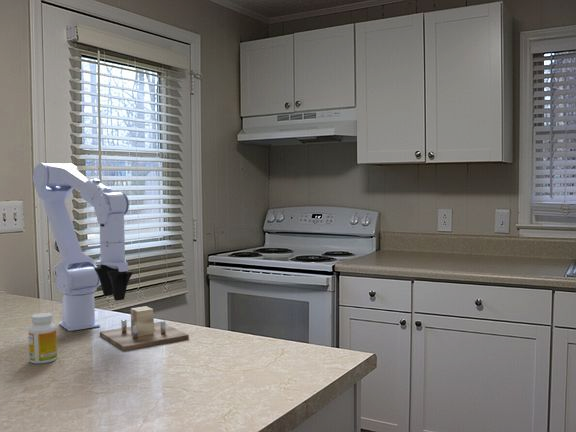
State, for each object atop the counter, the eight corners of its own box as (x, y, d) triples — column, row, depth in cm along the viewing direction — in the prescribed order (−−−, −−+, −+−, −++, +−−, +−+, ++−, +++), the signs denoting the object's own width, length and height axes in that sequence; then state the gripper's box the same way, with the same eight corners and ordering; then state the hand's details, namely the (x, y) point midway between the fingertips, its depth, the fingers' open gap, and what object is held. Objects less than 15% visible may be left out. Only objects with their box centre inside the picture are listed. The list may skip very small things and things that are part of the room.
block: (131, 332, 141) (130, 308, 141) (146, 330, 143) (146, 306, 143) (137, 336, 138) (137, 311, 137) (153, 333, 140) (153, 309, 140)
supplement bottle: (61, 356, 126) (60, 312, 125) (49, 364, 120) (47, 318, 120) (38, 356, 126) (36, 311, 126) (24, 363, 121) (22, 317, 120)
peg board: (99, 335, 142) (99, 319, 142) (160, 325, 152) (160, 310, 152) (123, 351, 130) (123, 333, 129) (188, 338, 139) (188, 322, 139)
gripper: (86, 240, 145) (87, 294, 145) (106, 245, 133) (107, 304, 134) (114, 238, 149) (115, 291, 150) (135, 243, 137) (137, 300, 138)
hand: (113, 297), depth 142 cm, fingers open, 7 cm apart
